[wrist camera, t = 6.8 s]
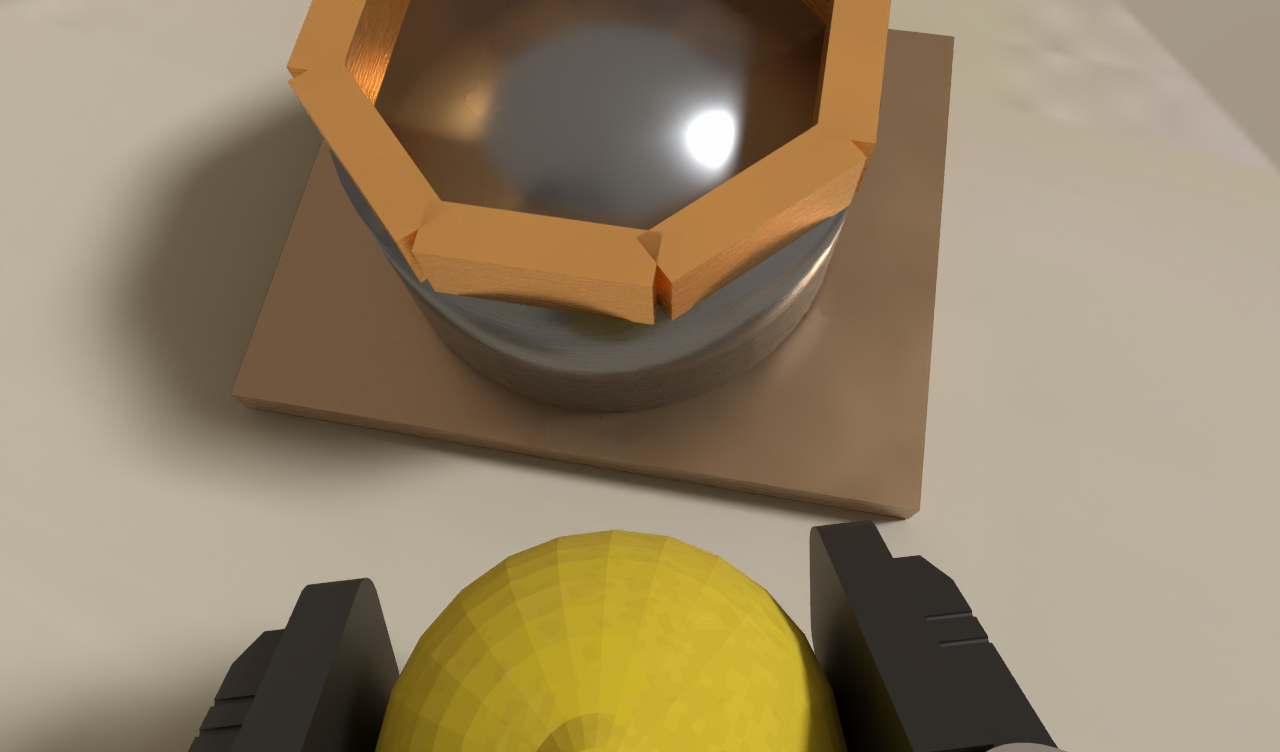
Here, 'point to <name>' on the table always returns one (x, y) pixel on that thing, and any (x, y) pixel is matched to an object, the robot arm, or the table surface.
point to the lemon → (612, 659)
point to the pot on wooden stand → (621, 237)
